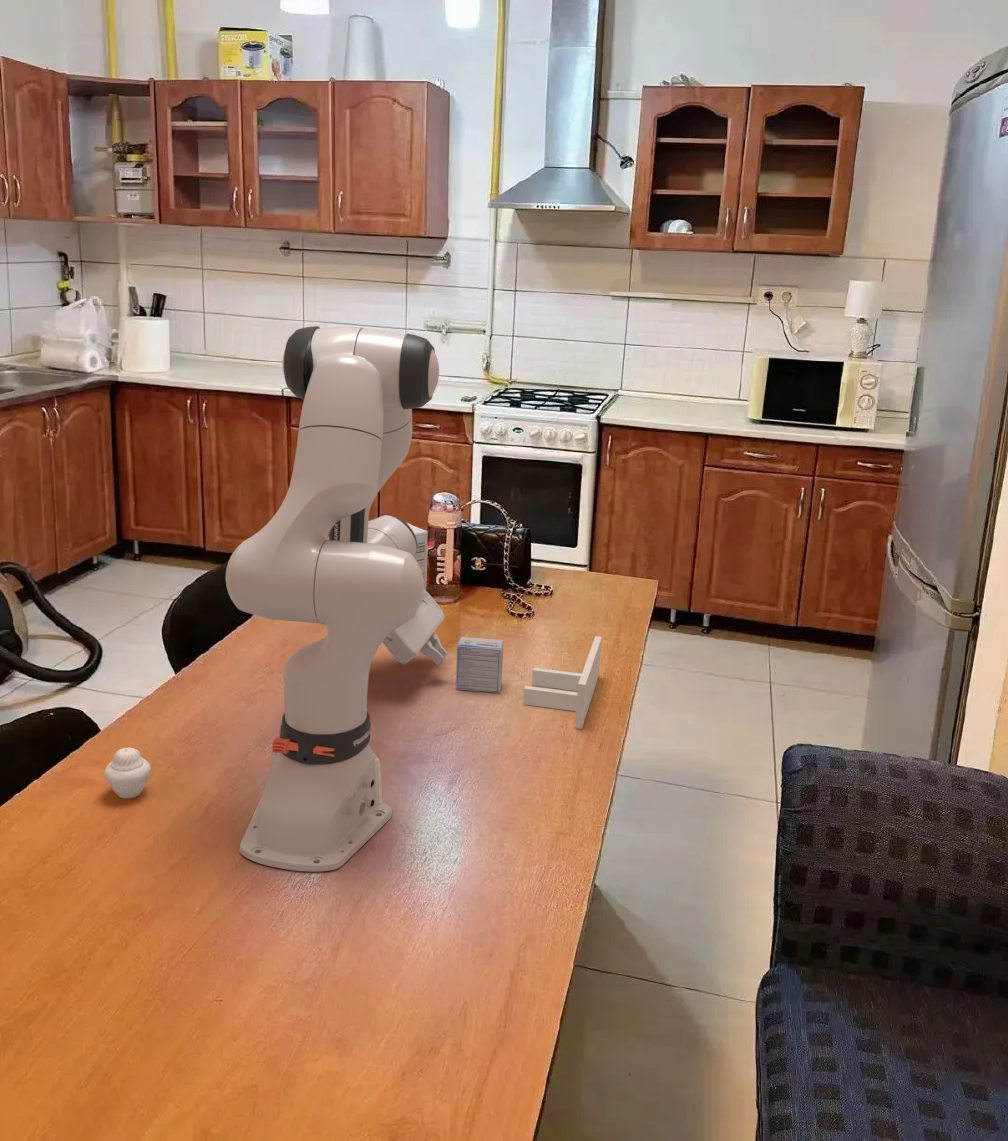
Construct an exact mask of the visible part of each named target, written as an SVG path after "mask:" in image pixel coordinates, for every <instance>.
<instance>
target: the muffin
mask: <svg viewBox="0 0 1008 1141" xmlns="http://www.w3.org/2000/svg"><path fill="white" fill-rule="evenodd" d="M112 757H113V759H111V761H110V763H108V765H107V766H106V767H105V770H104V778H105V780H106V781H107V784H108V785H109V786H110V788H111V789H112V790H113V791H114V793H115V794H116V795H117V796H118V797H119V798H121V799H126V800H127V799H133V798H136V797H139V795H141V793H142V792H143V790H144V788H145V786H146V784H147V782H148V780H149V777H150V774H151V771H152V770H151V769H152V767H151V764H150V763H149V761H148V760H147V759H145V758H143V757H142V756H141V753H140V751H139V750H138V749H136V748H133V747H123V748H119V750H117V751H116V752H115V753H114V755H113V756H112Z"/></svg>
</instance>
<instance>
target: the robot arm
mask: <svg viewBox="0 0 1008 1141" xmlns="http://www.w3.org/2000/svg"><path fill="white" fill-rule="evenodd" d="M282 356H283V357H282V371H283V375H284V376H283V377H284V380H285V384H286V387H287V389H288V390H289V391H291V393H293V395H294V396H295V397H296V398H299V399H301V400H302V401H303V403H302V408H301V414H300V418H299V426H298V431H297V432H298V433H297V442H296V450H295V457H294V463H293V467H292V468H293V469H292V474H291V479H290V483H289V486H288V489H287V492H286V495H285V497H284V499H283V501H282V503H281V505H280V507H279V508H278V510H277V511H276V513H275V514H274V515H273V516H272V518H271V519H270V520H269V521H268V522H267V524H266V525H264V526H263V527H262V528H261V529H260V530H259V531H258V532H256V533H255V534H253V535H252V536H250V537H249V538H247V539H245V540H244V541H242V542H241V543H240V544H239V545H238V546H237V547H236V548H235V549H234V551H233V553H232V554H231V555H230V558H229V559H228V561H227V562H228V563H227V566H226V570H225V585H226V589H227V593H228V595H229V597H230V599H231V601H232V603H233V605H234V606H235V607H236V608H237V610H239V611H241V612H244V613H248V614H249V615H250V614H251V615H253V616H256V617H261V618H265V619H269V620H275V621H286V622H299V623H312V624H320V625H324V626H326V628H327V636H325V637H323V638H321V639H319V640H316V641H313V642H311V643H309V644H307V645H304V646H303V647H301V648H300V649H297V650H296V651H295V652H294V653H293V654H292V655H291V656H290V657H289V659H288V660H287V662H286V664H285V667H284V669H283V670H284V671H283V690H284V691H283V692H284V693H283V694H284V713H283V715H282V717H281V724H280V725H279V726H280V727H279V733H278V735H279V737H278V736H276V737H274V739H273V741H272V746H271V749H272V752H273V753H275V757H274V760H273V762H272V764H271V767H270V771H269V773H268V776H267V779H266V782H265V784H264V785H265V786H264V788H263V791H262V794H261V796H260V799H259V801H258V804H257V806H256V809H255V811H254V812H253V815H252V817H251V819H250V822H249V824H248V825H247V828H246V830H245V831H244V832H245V833H244V835H243V837H242V838H241V841H240V844H239V853H240V854H241V855H242V856H243V857H245V858H246V859H248V860H251V861H253V862H255V863H257V864H261V865H265V866H268V867H271V868H273V867H274V868H278V869H282V870H290V871H298V872H299V871H300V872H311V873H312V872H327V871H333V870H337V869H339V868H341V867H343V865H344V864H346V862H348V861H349V859H350V858H352V857H353V856H354V855H355V854H356V853H357V852H358V850H360V849H361V848H362V847H363V846H364V845H365V844H366V843H367V842H368V841H369V840H371V838H372V837H373V836H374V835H375V834H376V833H377V832H378V831H379V830H380V829H381V828H382V827H383V826H384V825H385V824H386V823H387V822H388V821H389V820H390V819H391V818H392V817H393V815H392V814H393V813H392V812H393V811H392V807H390V806H389V805H388V804H387V803H385V802H384V801H383V795H382V794H383V792H382V778H381V777H382V774H381V763H380V762H381V761H380V759H379V757H377V755H376V754H375V752H374V751H373V749H372V747H371V745H370V741H371V731H372V723H371V716H370V712H369V711H368V688H369V679H370V669H371V665H372V662H373V659H374V658H375V655H376V652H377V650H378V649H379V647H380V646H381V645H382V644H383V645H384V646H385V647H386V649H387V650H388V651H389V653H390V654H391V655H392V656H393V657H394V659H395V660H396V661H397V662H398V663H399V664H401V665H407V663H409V662H410V661H411V660H413V659H414V658H416V656H417V655H418V654H419V653H421V654H422V655H423V656H425V657H427V658H430V659H431V660H432V662H434V664H436V665H440V664H442V663H443V661H444V660H445V659H446V657H447V656H448V651H447V650H446V649H445V648H444V647H443V645H442V643H441V641H440V638H439V636H438V635H437V634H436V633H435V632H436V631H437V629H438V628H439V627H440V625H441V624H442V623H443V622H444V620H445V619H446V617H445V616H446V615H445V614H444V611H443V609H442V608H441V606H440V605H439V604H438V603H437V601H436V600H435V599H434V598H433V596H432V595H431V594H430V593H429V592H428V591H427V589H426V590H424V580H423V575H422V571H421V569H420V566H419V564H418V563H417V561H416V560H415V558H414V555H415V554H416V552H417V540H416V536H415V534H414V532H413V530H412V529H411V528H410V526H409V525H408V524H407V523H408V522H406V521H405V520H403V519H402V518H401V517H397V516H395V515H392V514H383V515H380V516H379V517H376V518H374V519H371V520H369V516H370V515H369V514H370V510H371V507H372V504H373V502H374V501H375V499H376V497H377V495H378V493H379V492H380V490H381V489H382V487H383V486H384V485H385V484H386V482H387V481H388V480H389V478H391V476H392V475H393V474H394V473H395V471H396V470H398V468H399V467H400V466H401V465H402V463H403V462H404V461H405V459H406V457H407V456H408V454H409V451H410V447H411V442H412V437H413V409H417V408H418V409H419V408H422V407H424V406H425V405H427V404H428V403H429V402H430V401H431V400H432V399H433V395H434V393H435V391H436V389H437V386H438V383H439V379H440V364H439V361H438V358H437V355H436V350H435V347H434V346H433V344H432V343H431V342H430V341H429V340H428V339H427V338H425V337H424V336H419V335H416V334H411V333H408V332H407V333H406V334H405V335H404V334H400V333H394V332H390V331H384V330H378V329H377V330H376V329H366V328H363V327H355V326H354V327H353V326H341V327H340V326H339V327H338V326H336V327H324V328H323V327H322V328H320V326H318V325H316V326H315V325H314V326H307V327H302V328H298V329H296V330H295V331H294V332H293V333H292V334H291V335H290V336H289V337H288V338H287V341H286V344H285V349H284V351H283V355H282Z"/></svg>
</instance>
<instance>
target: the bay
mask: <svg viewBox="0 0 1008 1141" xmlns="http://www.w3.org/2000/svg"><path fill="white" fill-rule="evenodd" d="M602 639H603V637H602V636H597V635H595V636H594V639H593V642H592V645H591V647H590V650H589V653H588V655H587V658H586V661H585V664H584V667H583V670H582V673H579V672H572V671H571V672H570V671H563V670H556V669H547V668H540V667H533V669H532V676H531V677H532V678H531V686H530V685H524V688H523V696H522V697H523V699H522V700H523V701H522V702H523V703H522V704H523V705H526V706H533V707H541V708H548V709H549V708H550V709H555V710H556V709H557V710H563V711H569V712H571V711H572V712H575V720H574V722H575V724H574V729H577V730H578V729H581V730H582V729H583V727H584V724H585V720H586V717H587V715H588V711H589V708H590V705H591V702H592V699H593V697H594V693H595V690H596V687H597V684H598V680H599V678H600V676H599V675H600V662H601V654H602V653H601V650H602Z"/></svg>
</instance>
